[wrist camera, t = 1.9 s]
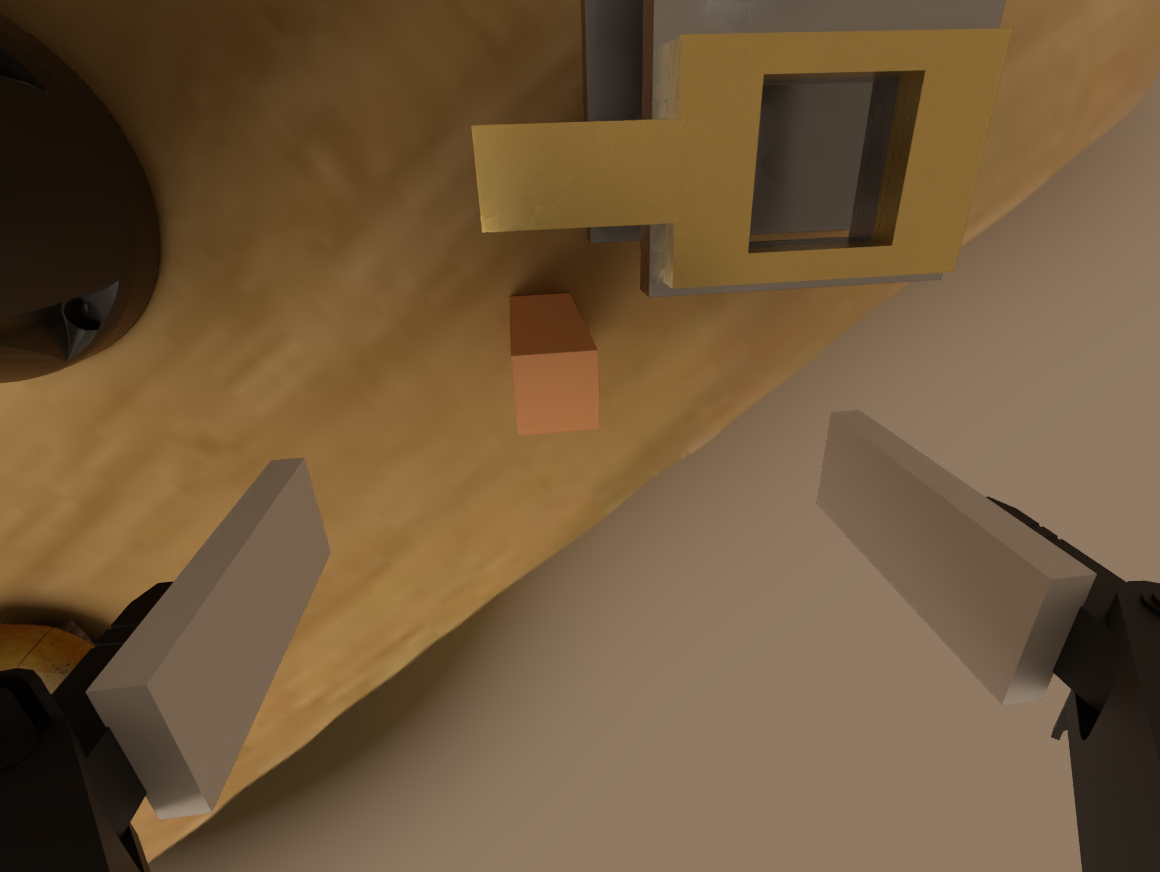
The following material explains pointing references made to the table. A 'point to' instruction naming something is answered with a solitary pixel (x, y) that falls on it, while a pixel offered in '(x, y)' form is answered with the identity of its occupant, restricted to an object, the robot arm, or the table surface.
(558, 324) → the wedge pin
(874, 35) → the grey and yellow stand
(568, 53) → the table surface
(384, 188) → the table surface
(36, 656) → the decorative figurine
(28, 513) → the table surface
